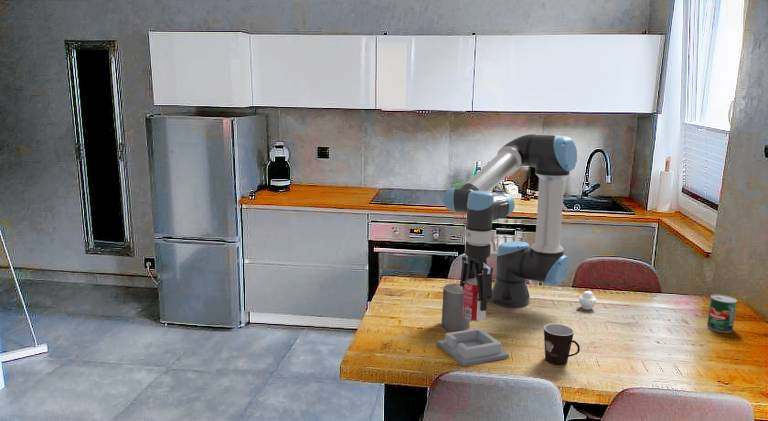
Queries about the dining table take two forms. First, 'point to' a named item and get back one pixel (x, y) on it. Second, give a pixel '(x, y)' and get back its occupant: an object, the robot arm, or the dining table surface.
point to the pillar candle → (453, 308)
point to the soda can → (470, 299)
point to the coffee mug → (558, 343)
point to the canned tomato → (721, 313)
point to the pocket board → (472, 347)
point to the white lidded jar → (587, 300)
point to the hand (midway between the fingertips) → (474, 315)
